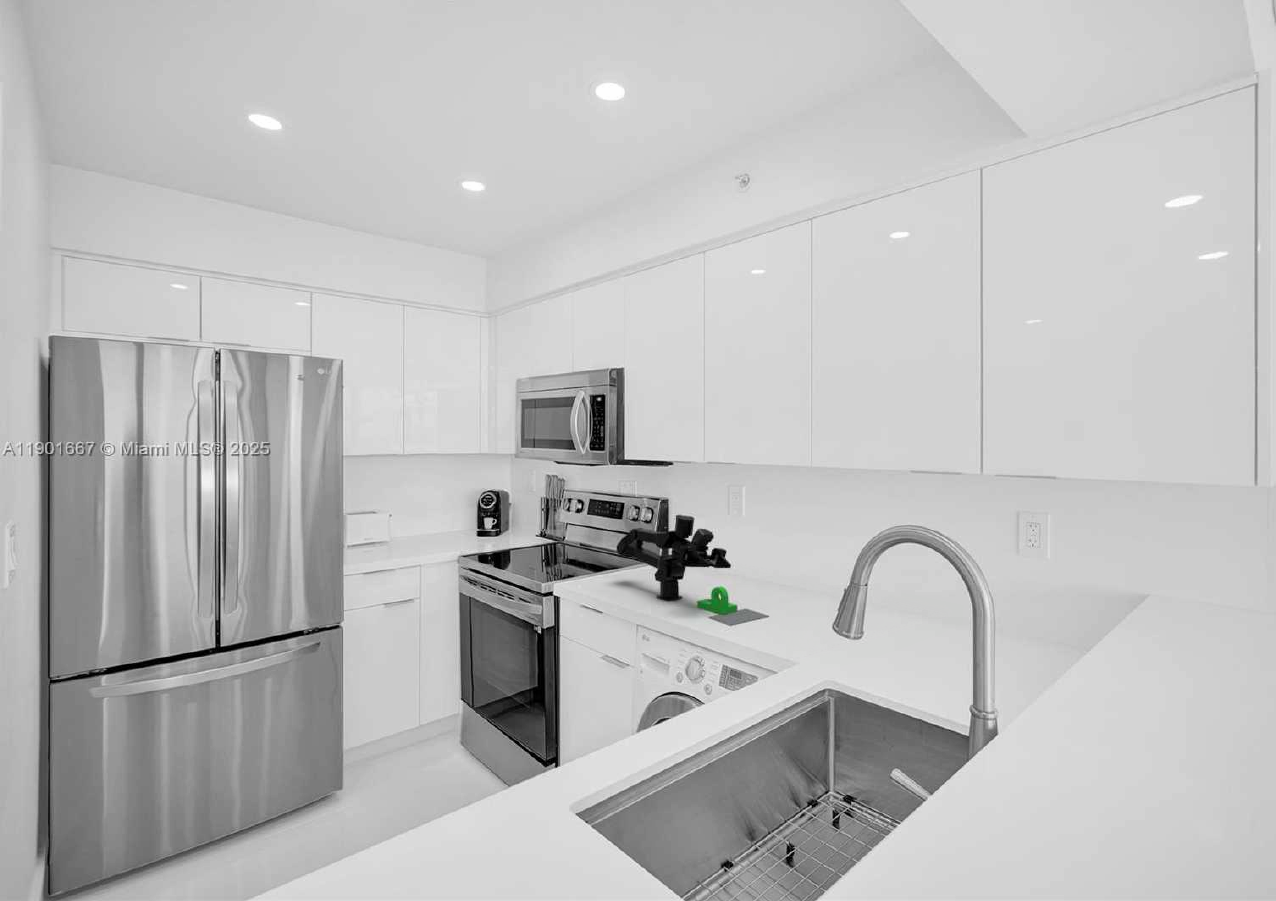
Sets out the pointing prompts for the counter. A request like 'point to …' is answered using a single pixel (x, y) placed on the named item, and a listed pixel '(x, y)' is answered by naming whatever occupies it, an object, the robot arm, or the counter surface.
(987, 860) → the counter surface
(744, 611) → the tool mat
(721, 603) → the mechanical part
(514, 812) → the counter surface
